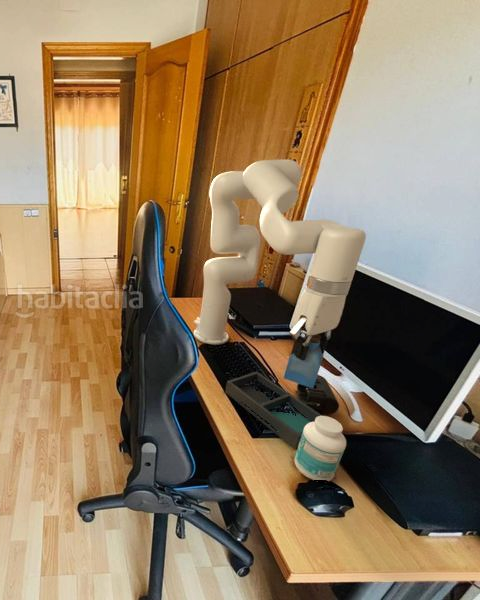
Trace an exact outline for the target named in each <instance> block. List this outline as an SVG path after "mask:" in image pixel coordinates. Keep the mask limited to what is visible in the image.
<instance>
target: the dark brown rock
mask: <svg viewBox="0 0 480 600" xmlns="http://www.w3.org/2000/svg"><path fill="white" fill-rule="evenodd" d="M295 394H296V396H297V399H298V400H300V401H301V402H303V403H304V404H306V405H307V406H309V407H310V408H312V409H313V410H315V411H316V412H318V413H319V414H321V415H322V416H330V415H334V414H335V413H337V412H338V411H339V409H340V403H339V401H338V399H337V397H336V395H335V394H334V392H333V390H332V388H331V386H330V384H329V382H328V380H327V379H326V378H325V377H324V376H322V375H320V374H318V375H317V378H316V381H315V384H314V387H313V388H310V387H307V386H304V385H301V384H298V383H297V386H296V391H295Z"/></svg>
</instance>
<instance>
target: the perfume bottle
mask: <svg viewBox="0 0 480 600" xmlns="http://www.w3.org/2000/svg"><path fill="white" fill-rule="evenodd" d="M302 337H303V338H304V339H305V337H306V335H305V334H304V336H302ZM320 338H321V336H320V335H318V334H315V335H312V337H311V339H310V341H309V343H308V346H309V349H308V352H307V355H306V359H305V360H303V361H302V360H300V359H298V358H297V357H296V356H295V355H294V354H291V353H290V354H289V357H288V359H287V364H286V367H285V371H284V375H283V379H284V380H286V381H290V382H293V383H295V384H297V385H298V384H301V385H304V386H307V387H310V388H313V387H314V384H315V381H316V378H317V375H319V371H320V370H321V366H322V363H323V362H322V361H323V358H324V354H322V353H321V348H320V346H319V345H320V341H319V340H320Z"/></svg>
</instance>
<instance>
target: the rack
mask: <svg viewBox="0 0 480 600" xmlns="http://www.w3.org/2000/svg"><path fill="white" fill-rule="evenodd" d="M255 379H256V380H258V381H259V382H261V383H262V384H263V385H265V386H266V387H268V388H270V389H271V390H273V391H274V392H276V393H277V394H279V395H280V396H281V397H278V398H275V399H273V400H270V398H268V397H267V396H266V394H264V393H263V392H260V390H259V391H256V389H257V388H256V389H255V388H252V386H251V385H245V386H242V387H239V388H238V386H241V385H243V384H245V383H248V382H250V381H253V380H255ZM224 393H225V394H227V395H228V396H229V397H230V398H231V399H233V400H234V401H235V402H236V403H237V404H239V405H240V406H241V407H242V408H244V409H245V410H246V411H247V412H249V413H250V414H251V415H252V416H253V417H255V419H257V420H258V421H259V422H261V424H263V425H264V426H266V428H268V429H269V430H270V431H272V432H273V434H275V435H276V436H278V437H279V438H280V439H281V440H283V441H284V443H286V444H287V445H289V446H290V447H291V448H292V449H293V450H297V449H298V446H299V442H300V439H301V436H302V433H303V430H304V427H305V426H306V425H307V424H308V423H310V422H315V419H316V417H318V416H322V415H321V414H319V413H318V412H316V411H315V410H313V409H312V408H310V407H309V406H307V405H306V404H304V403H303V402H301V401H300V400H299V399H298V397H296V396H294V395H293V394H291V393H289V391H286V390H285V389H284V388H282V387H281V386H279V385H278V384H276V383H274V382H273V381H272V380H270V379H268V378H267V377H266V376H264V375H263V374H261V373H260V372H258V371H255V372H250V373H248V374H246V375H242V376H240V377H239V376H238V377H236V378H232V379H229V380H227V381H226V385H225V392H224ZM241 402H242V403H241ZM285 402H289V403H290V404H291V405H293V407H295V408H296V409H297V410H298V411H299V412H300V413H301V414H303V415H304V416H305V417H306V418H305V417H304V416H303V415H301V414H300V413H298V412H297V414H298V415H297V414H296V416H295V413H294V415H293V414H292V413H289V414H288V413H283V412H276V411H275V410H272V411H268V410H270V409H273V408H275V407H278V406H280V405H282V404H283V403H285ZM244 404H245V405H246V406H247V407H246V406H245V405H244ZM248 407H249V408H250V409H251V410H252V411H254V412H255V413H256V414H257V415H259V416H260V417H261V418H263V419H264V420H266V421H267V422H268V423H270V424H271V425H272V426H273V427H274V428H275V429H276V430H277V431H279V433H278V432H277V431H276V430H275V429H274V428H272V427H271V426H270V425H269V424H267V423H266V422H265V421H264V420H262V419H261V418H260V417H259V416H257V415H256V414H255V413H254V412H252V411H251V410H250V409H249V408H248ZM276 410H277V409H276Z"/></svg>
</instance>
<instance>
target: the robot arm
mask: <svg viewBox="0 0 480 600" xmlns="http://www.w3.org/2000/svg"><path fill="white" fill-rule="evenodd" d="M302 174H303V173H302V168H301V166H300V164H299V163H298V162H297V161H295V160H293V159H287V158H285V159H284V158H283V159H264V160H258V161H255V162H253V163H251V164H250V165H249V166H247V167H246V169H245V170H233V171H227V172H222V173H220V174H218V175H217V176H216V177H214V178H213V180H212V182H211V185H210V188H209V199H210V200H209V201H210V207H211V227H210V239H209V245H210V246H209V247H210V249H211V251H212V252H213V253H215V254H218V255H219V254H220V255H227V254H228V255H229V254H230V255H231V254H238V255H237V256H220V257H214V258H213V257H212V258H211V259H208V260H207V261H206V262H205V263H204V265H203V269H202V270H203V290H202V302H201V308H200V315H199V316H197V317H196V319H195V320H193V324H194V325H196V328H195V329H194V331H193V336H194V338H195V339H196V340H198V341H199V342H201V343H203V344H208V345H215V346H216V345H217V346H219V345H223V344H226V343H227V342H228V341H229V338H230V337H229V334H228V333H227V332H226V328H227V324H228V323H227V322H228V317H229V312H230V305H231V299H232V294H231V292H230V290H229V289H228V287H227V285H232V284H245V283H250V282H252V281H253V280H254V278H255V277H256V275H257V270H258V264H259V263H258V262H259V256H260V255H259V254H260V247H261V236H260V233H261V235H262V236H263V238H264V239H265V241H266V242H267V243H268V245H269V247H270V248H272V250H274V251H276V253H279V254H281V255H284V256H285V255H287V256H290V255H303V254H304V255H306V254H314V256H313V260H312V263H311V267H310V269H309V270H310V271H309V275H308V279H307V282H306V286H305V289H304V290H303V291H302V294H301V295H300V297H299V299H298V302H297V305H296V307H295V310H294V313H293V316H292V320H291V322H290V327H291V328H292V329H291V330H290V331H289V335H290V336H291V337H292V341H293V345H292V349H291V351H290V355H291V354H294V355H295V356H296V357H297V358H298V359H300V360H302V361H303V360H305V359H306V355H307V352H308V349H309V346H308V343H309V341H310V339H311V337H312V335H315V334H318V335H320V336H321V338H320V340H319V341H320V345H319V346H320V348H321V353H322V354H323V355H324V354H325V351H326V348H327V345H328V341H329V340H330V338H331V335H332V333H333V332H334V331H335V329H336V328H337V327H338V326H339V323H340V321H341V318H342V315H343V311H344V308H345V304H346V298H347V296H348V295H349V291H350V288H351V285H352V281H353V278H354V275H355V274H356V273H355V272H356V270H357V266H358V263H359V261H360V257H361V254H362V251H363V248H364V245H365V242H366V239H367V234H366V232H365V231H364V230H363V229H360V228H357V227H352V226H345V225H343V224H341V223H340V222H337V221H335V220H332V219H307V220H304V219H303V220H288V219H287V217H286V216H285V215H284V214H285V213H286V212H288V211H290V210H291V209H292V208H293V207H294V206H295V205H296V204H297V202H298V199H299V197H300V191H299V189H298V187H297V186H298V185H299V184H300V182H301V179H302ZM235 200H256V202H257V203H258V204H259V206H260V207H261V212H260V215H259V230H260V232H259V230H258V228H257V227H256V226H254V225H251V224H240V215H241V213H240V209H239V207H238V205H237V203H236V202H235ZM304 329H305V330H304ZM303 335H304V336H303ZM305 335H306V337H305ZM303 337H305V339H304V338H303Z"/></svg>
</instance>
